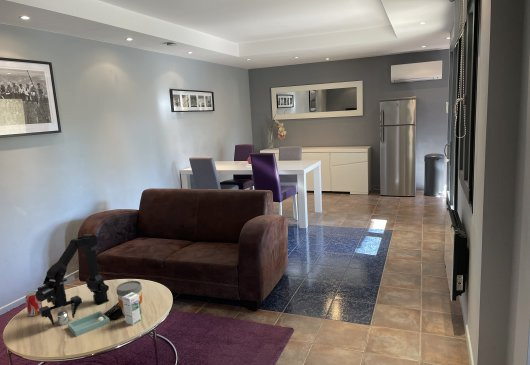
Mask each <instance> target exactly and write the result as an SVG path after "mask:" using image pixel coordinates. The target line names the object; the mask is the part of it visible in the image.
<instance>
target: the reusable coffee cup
mask: <svg viewBox="0 0 530 365" xmlns="http://www.w3.org/2000/svg"><path fill="white" fill-rule="evenodd" d="M142 288H143V287H142V284H141V281H139V280H129V281H125V282H122V283H120V284H117V286H116V288H115V290H116V295H117V300H118V304H119V306H120V308H121V311H122V315H124V316H125V312H124V306H123V300H122V297H123V296H126V295H128V294H130V293H131V292H132V293H137V294H139V299H140V306H141V307H142V302H143V292H142V290H143V289H142Z"/></svg>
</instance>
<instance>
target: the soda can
mask: <svg viewBox="0 0 530 365" xmlns="http://www.w3.org/2000/svg"><path fill="white" fill-rule="evenodd" d="M36 291H37V290H33V291H30V292H29V291H28V292H27V293H26V294H25V305H26V310H27V314H28V316H30V317H37V316H39V315H40V314H39V309H40V308H42V307H43V301H42V302H40V301H38V300H37V298H36V296H35V294H36Z"/></svg>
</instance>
